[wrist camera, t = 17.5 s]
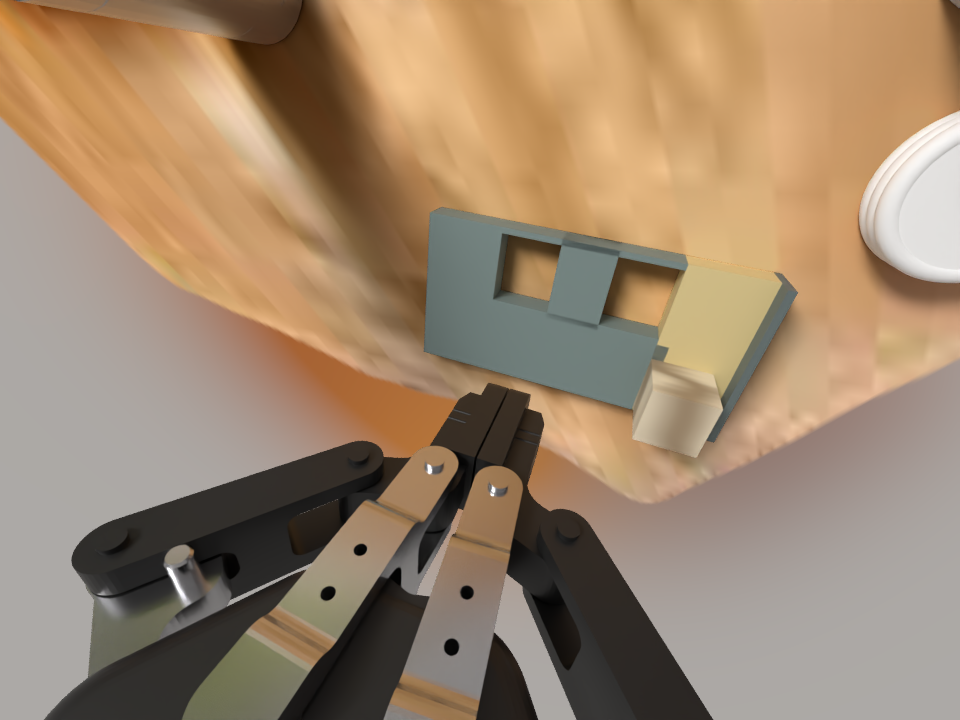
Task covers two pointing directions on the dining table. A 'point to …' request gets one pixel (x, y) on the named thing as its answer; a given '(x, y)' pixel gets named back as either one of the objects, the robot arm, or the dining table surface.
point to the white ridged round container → (918, 205)
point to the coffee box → (956, 3)
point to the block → (676, 408)
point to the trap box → (593, 313)
